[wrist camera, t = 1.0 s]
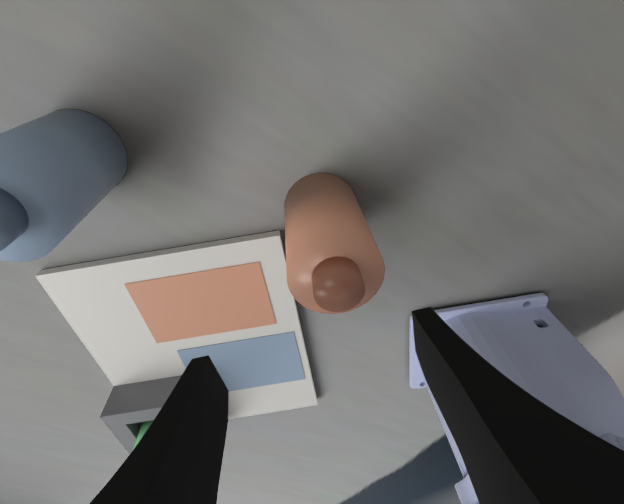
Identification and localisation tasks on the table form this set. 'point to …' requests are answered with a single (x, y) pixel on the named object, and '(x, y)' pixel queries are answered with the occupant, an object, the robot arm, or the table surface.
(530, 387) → the robot arm
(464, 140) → the table surface
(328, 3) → the table surface
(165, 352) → the picture board
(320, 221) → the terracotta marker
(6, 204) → the slate marker
